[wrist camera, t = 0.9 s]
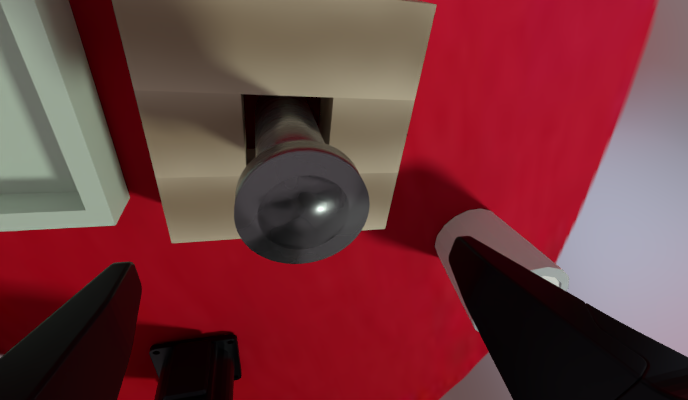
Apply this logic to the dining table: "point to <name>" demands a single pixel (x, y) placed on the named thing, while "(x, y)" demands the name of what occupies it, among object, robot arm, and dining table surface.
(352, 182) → the pin
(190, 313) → the dining table surface
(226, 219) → the hole block
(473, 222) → the cup
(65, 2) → the tray
